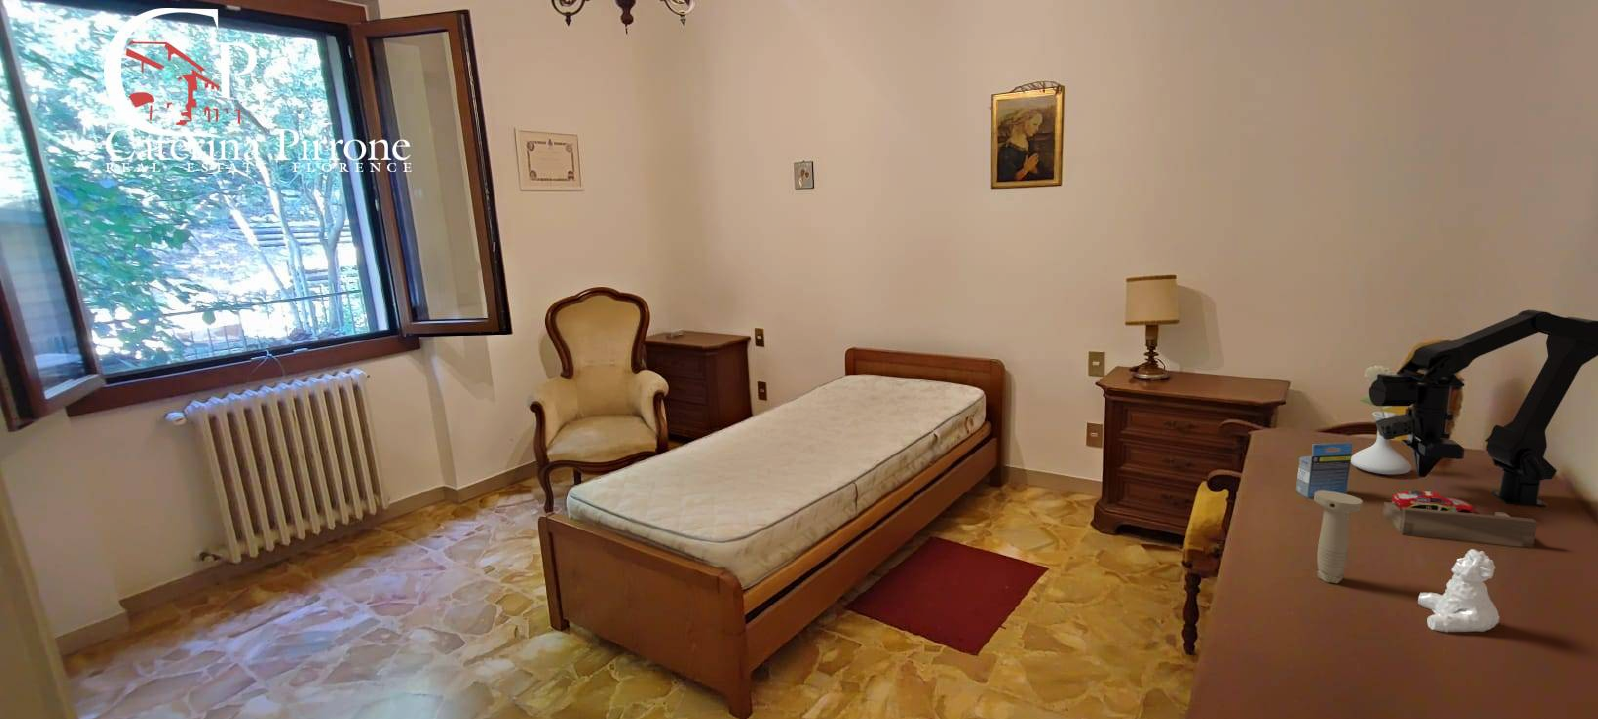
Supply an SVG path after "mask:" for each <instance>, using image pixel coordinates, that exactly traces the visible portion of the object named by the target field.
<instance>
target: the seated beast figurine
mask: <svg viewBox="0 0 1598 719" xmlns="http://www.w3.org/2000/svg"><path fill="white" fill-rule="evenodd" d="M1495 569H1496V566H1495V565H1494V561H1493V560H1491V559H1490V558H1489V556H1488V555H1486V553H1485V551H1483V550H1482V551H1480V550H1479V551H1478V550H1477V549H1473V548H1470V550H1467V553H1465V555H1464V557H1463V558H1458V559H1456V562H1455V564H1454V565H1453V567H1451V571H1452V573H1453V575H1452V576H1451V579H1449V580H1448V582H1447V583H1446V584H1445V585H1446V589H1445V591H1444V593H1443V594H1440V593H1436V592H1420V593H1419V596H1418V599H1417V604H1418V605H1419V606H1420V607H1422V608H1426V609H1428V610H1432V612H1433V613H1434V614H1431V615H1429V616H1427V621H1426V622H1427V623H1426V624H1427V626H1428V628H1429V629H1431V630H1432V631H1436V632H1443V633H1446V634H1447V633H1473V632H1477V633H1478V632H1479V633H1483V632H1486V631H1489V630H1492V628H1495V627H1496V625H1498V624H1499V621H1500V618H1501V616H1500V615H1499V612H1498V609H1497V607H1496V606H1495V604H1494V603H1493V601H1492V600H1491V598H1490V595H1489V594H1488V588H1487V587H1488V586H1487V585H1486V584H1485V581H1487V580H1488V579H1492V578H1493V576H1494V573H1495V572H1494V571H1495Z"/></svg>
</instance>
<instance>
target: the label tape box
mask: <svg viewBox="0 0 1598 719" xmlns="http://www.w3.org/2000/svg"><path fill="white" fill-rule="evenodd" d="M1332 448H1333V449H1334V450H1338V451H1327V450H1331V449H1332ZM1352 450H1353V443H1352V442H1348V443H1345V442H1344V443H1320V444H1319V443H1318V444H1316V443H1314V444H1313V443H1312V454H1311V455H1304V456H1300V457H1299V460H1298V469H1297V475H1296V476H1297V477H1296V486H1295V492H1297V493H1298V494H1299V495H1301V496H1304V497H1305V498H1309V499H1311V498H1314V494H1315V492H1316V491H1320V490H1325V491H1334V492H1339V493H1344V494H1347V489H1348V483H1349V477H1350V476H1349V475H1350V468H1351V464H1352V463H1351V457H1352V456H1353V455H1352Z"/></svg>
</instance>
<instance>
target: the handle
mask: <svg viewBox="0 0 1598 719" xmlns="http://www.w3.org/2000/svg"><path fill="white" fill-rule="evenodd" d="M1313 500H1314V502H1315V503H1317V504H1318V505H1319V506H1320V507H1322V508H1323V517H1322V522H1321V528H1320V533H1319V540H1318V546H1317V557H1316V558H1317V568H1318V570H1317V577H1318V579H1321V580H1323V582H1325V583H1333V584H1339V582H1341V581H1342V579H1343V577H1344V576H1343V573H1344V571H1345V568H1346V564H1347V559H1348V558H1347V557H1348V547H1349V546H1348V541H1349V518H1350V515H1351V514H1350V513H1355V512H1358V511H1360V510H1361V509H1362V508H1363V502H1364V501H1363V500H1362V499H1361V498H1360V497H1357V496H1354V495H1351V494H1348V493H1346V494H1344V493H1339V492H1334V491H1325V490H1320V491H1316V492H1315V494H1314V497H1313Z"/></svg>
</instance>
